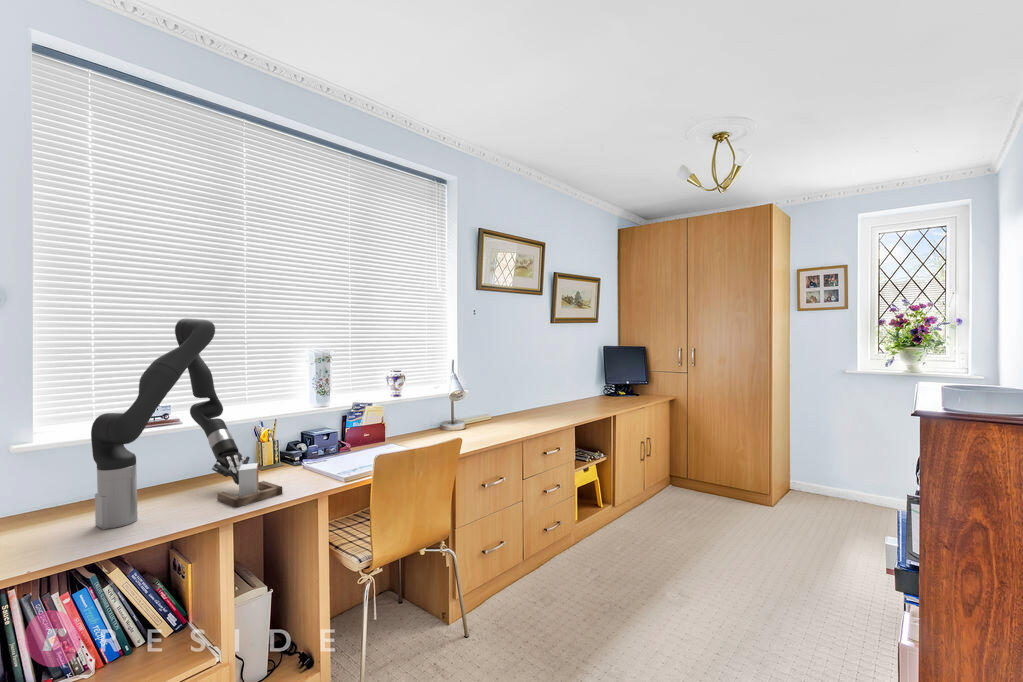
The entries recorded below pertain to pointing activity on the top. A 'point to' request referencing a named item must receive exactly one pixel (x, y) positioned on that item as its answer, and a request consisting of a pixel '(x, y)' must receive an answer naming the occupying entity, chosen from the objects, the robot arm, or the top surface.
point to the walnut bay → (251, 495)
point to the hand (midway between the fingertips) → (240, 483)
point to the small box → (248, 479)
